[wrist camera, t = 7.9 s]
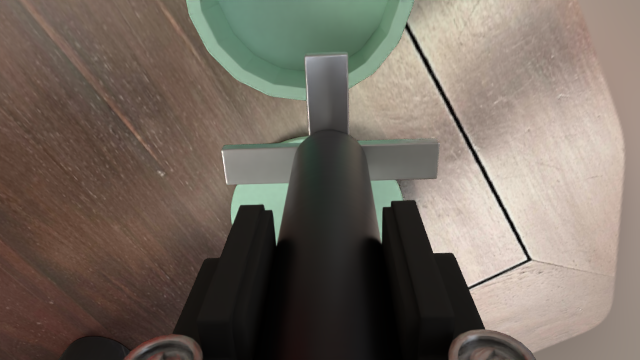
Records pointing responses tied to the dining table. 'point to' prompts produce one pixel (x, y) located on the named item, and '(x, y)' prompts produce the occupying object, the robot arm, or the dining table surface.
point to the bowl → (297, 37)
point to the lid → (276, 194)
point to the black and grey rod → (329, 227)
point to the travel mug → (95, 350)
